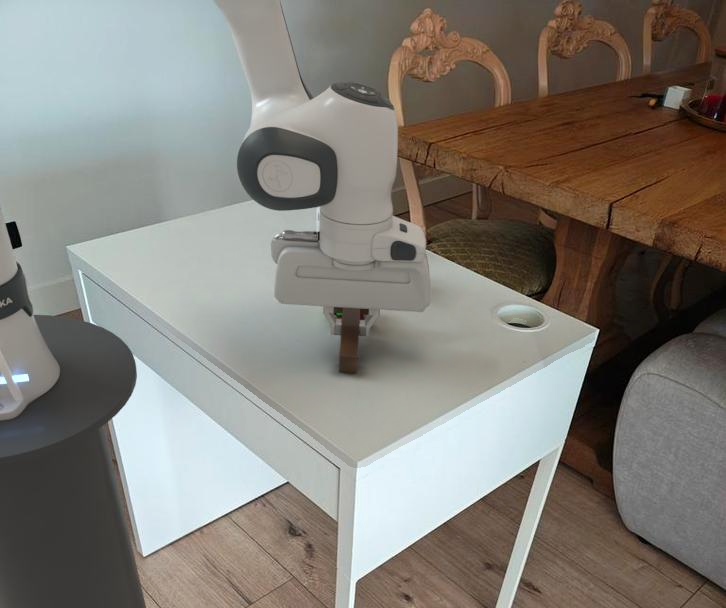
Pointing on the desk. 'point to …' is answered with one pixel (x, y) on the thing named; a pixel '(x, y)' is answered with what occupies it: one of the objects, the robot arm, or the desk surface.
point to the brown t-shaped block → (349, 338)
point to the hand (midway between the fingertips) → (350, 334)
